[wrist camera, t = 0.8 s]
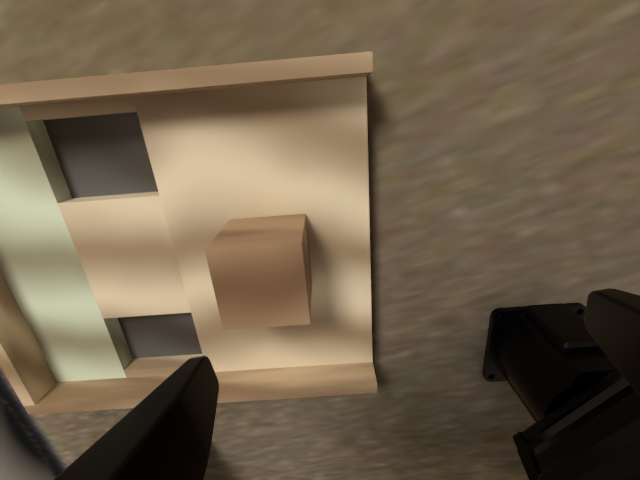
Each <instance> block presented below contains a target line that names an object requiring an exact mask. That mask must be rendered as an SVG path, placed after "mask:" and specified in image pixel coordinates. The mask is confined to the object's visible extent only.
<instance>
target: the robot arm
mask: <svg viewBox="0 0 640 480" xmlns="http://www.w3.org/2000/svg"><path fill="white" fill-rule="evenodd" d="M577 310H578V311H577ZM499 315H501V316H499ZM498 316H499V317H498ZM483 376H484V378H485V380H486V381H488V382H494V381H508V383H509V384H510V385H511V387H512V388H513V390H514V391H515V393H516V394H517V395H518V397H519V398H520V400H521V401H522V403H523V404H524V406H525V407H526V408H527V410H528V411H529V413H530V414H531V416H532V417H533V418H534V420H535V421H536V423H534V424H533V425H531V426H530V427H529V428H527V429H526V430H524V431H523V432H520V431H519V432H518V433H517V434H515V435H514V436H513V439H514V441H515V444H516V446H517V449H518V450H517V451H518V454H519V456H520V458H521V461H522V463H523V466H524V468H525V471H526V473H527V475H528V478H529V480H640V296H639V295H635V294H632V293H628V292H624V291H620V290H617V289H603V290H597V291H593V292H591V293H590V294H589V295H588V299H587V306H586V307H585V306H584V305H582V304H581V303H568V304H546V305H531V306H523V307H508V308H497V309H495V310H493V311H492V313H491V318H490V325H489V332H488V338H487V345H486V352H485V359H484V366H483ZM218 394H219V382H218V378H217V376H216V374H215V371H214V369H213V366H212V364H211V362H210V359H209V358H208V357H207V356H198V357H192V358H189V359H188V360H187V361H186V362H184V363H183V364H182V365H181V366H180V367H179V368H178V369H177V370H176V371H174V372H173V373H172V374H171V375H170V376H169V377H168V378H167V379H166V380H164V381H163V382H162V383H161V384H160V385H159V386H158V387H157V388H156V389H154V390H153V391H152V392H151V393H150V394H149V395H148V396H147V397H145V398H144V399H143V400H142V401H141V402H140V403H139V404H138V405H137V406H135V407H134V408H133V409H132V410H131V411H130V412H129V413H128V414H127V415H125V416H124V417H123V418H122V419H121V420H120V421H119V422H118V423H116V424H115V425H114V426H113V427H112V428H111V429H110V430H109V431H108V432H106V433H105V434H104V435H103V436H102V437H101V438H100V439H99V440H98V441H96V442H95V443H94V444H93V445H92V446H91V447H90V448H89V449H87V450H86V451H85V452H84V453H83V454H82V455H81V456H80V457H79V458H77V459H76V460H75V461H74V462H73V463H72V464H71V465H70V466H69V467H67V468H66V469H65V470H64V471H63V472H62V473H61V474H60V475H59V476H57V477H56V478H55V479H54V480H203V479H204V475H205V471H206V467H207V463H208V458H209V453H210V447H211V441H212V434H213V428H214V421H215V414H216V407H217V400H218Z"/></svg>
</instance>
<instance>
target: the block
mask: <svg viewBox="0 0 640 480" xmlns="http://www.w3.org/2000/svg"><path fill="white" fill-rule="evenodd" d="M205 254H206V258H207V263H208V267H209V271H210V275H211V280H212V284H213V288H214V293H215V297H216V301H217V306H218V310H219V314H220V318H221V323H222V327H223V330H231V329H246V328H261V327H276V326H291V325H306V324H310V322H311V297H312V275H311V264H310V254H309V244H308V234H307V224H306V214H294V215H281V216H268V217H255V218H242V219H230V220H229V221H228V222H227V223H226V225H225V226H224V227H223V228H222V229H221V231H220V232H219V233H218V234H217V236H216V237H215V238H214V239H213V241H212V242H211V243H210V244H209V245H208V247H207V248H206V249H205Z"/></svg>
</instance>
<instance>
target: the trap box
mask: <svg viewBox="0 0 640 480" xmlns="http://www.w3.org/2000/svg"><path fill="white" fill-rule="evenodd" d="M372 72H373V69H372V52H361V53H349V54H338V55H327V56H316V57H304V58H293V59H282V60H271V61H260V62H248V63H237V64H226V65H215V66H203V67H192V68H181V69H170V70H158V71H147V72H136V73H125V74H113V75H102V76H91V77H80V78H69V79H57V80H46V81H35V82H24V83H12V84H1V85H0V366H1V368H2V369H3V371H4V373H5V375H6V376H7V378H8V380H9V381H10V383H11V385H12V387H13V388H14V390H15V392H16V394H17V395H18V397H19V399H20V401H21V402H22V404H23V406H24V407H25V409H26V411H27V413H28V414H44V413H60V412H77V411H93V410H109V409H126V408H134V407H135V406H137V405H138V404H139V403H140V402H141V401H142V400H143V399H144V398H145V397H147V396H148V395H149V394H150V393H151V392H152V391H153V390H154V389H156V388H157V387H158V386H159V385H160V384H161V383H162V382H163V381H164V380H166V379H167V378H168V377H169V376H170V375H171V374H172V373H173V372H174V371H176V370H177V369H178V368H179V367H180V366H181V365H182V364H183V363H184V362H186V361H187V360H188V359H189V358H192V357H198V356H207V357H208V358H209V359H210V362H211V364H212V366H213V369H214V371H215V374H216V376H217V378H218V382H219V394H218V400H217V403H224V402H240V401H256V400H272V399H289V398H305V397H321V396H338V395H354V394H370V393H377V380H376V375H375V371H374V366H373V356H372V310H371V264H370V219H369V173H368V127H367V81H366V76H368V75H369V74H370V73H372ZM294 214H306V224H307V234H308V244H309V254H310V264H311V275H312V297H311V322H310V324H306V325H291V326H276V327H261V328H246V329H231V330H223V327H222V323H221V318H220V314H219V310H218V306H217V301H216V297H215V293H214V288H213V284H212V280H211V275H210V271H209V267H208V263H207V258H206V254H205V249H206V248H207V247H208V245H209V244H210V243H211V242H212V241H213V239H214V238H215V237H216V236H217V234H218V233H219V232H220V231H221V229H222V228H223V227H224V226H225V225H226V223H227V222H228V221H229V220H230V219H242V218H255V217H268V216H281V215H294Z"/></svg>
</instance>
